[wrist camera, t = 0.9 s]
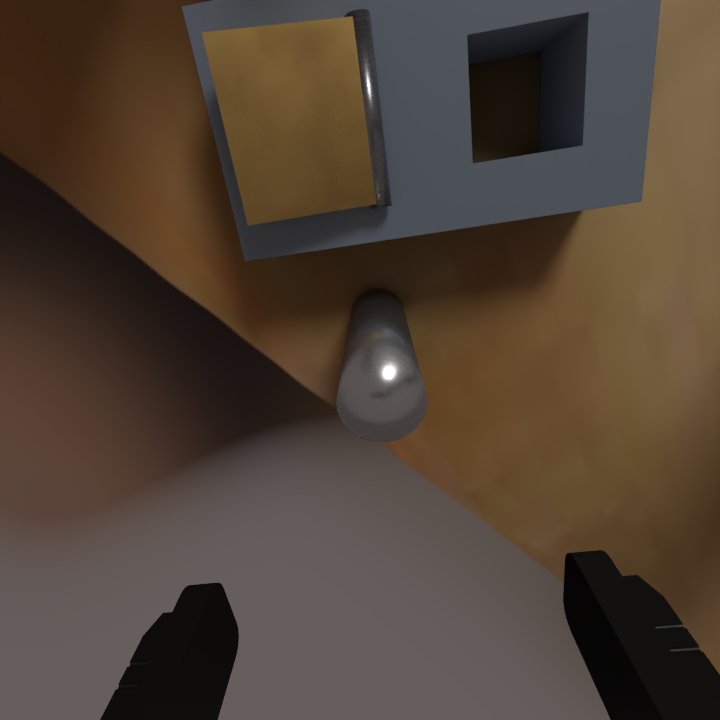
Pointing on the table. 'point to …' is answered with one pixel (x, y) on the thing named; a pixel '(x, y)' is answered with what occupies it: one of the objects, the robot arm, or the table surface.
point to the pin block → (469, 112)
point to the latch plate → (302, 116)
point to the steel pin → (380, 371)
